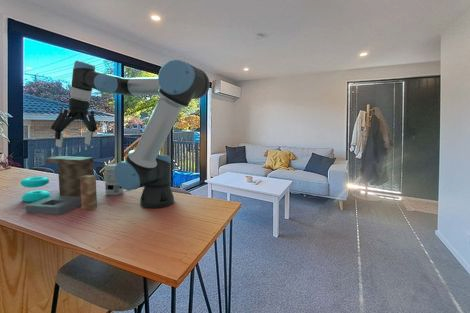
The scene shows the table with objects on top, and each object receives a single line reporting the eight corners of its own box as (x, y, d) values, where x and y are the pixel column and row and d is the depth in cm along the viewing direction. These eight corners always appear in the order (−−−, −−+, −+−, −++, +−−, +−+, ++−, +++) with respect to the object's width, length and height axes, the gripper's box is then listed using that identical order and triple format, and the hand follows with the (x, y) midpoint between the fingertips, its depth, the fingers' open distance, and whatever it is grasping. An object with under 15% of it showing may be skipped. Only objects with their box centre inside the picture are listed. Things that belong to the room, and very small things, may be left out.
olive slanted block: (94, 198, 114) (93, 157, 112) (82, 204, 106) (79, 160, 103) (63, 196, 116) (60, 155, 113) (48, 202, 107) (45, 158, 105)
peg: (97, 206, 104) (95, 175, 102) (90, 210, 100) (89, 177, 98) (88, 206, 104) (86, 174, 102) (81, 209, 100) (80, 176, 98)
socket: (84, 203, 108) (84, 196, 107) (59, 214, 94) (58, 207, 93) (55, 201, 109) (54, 195, 108) (26, 212, 95) (25, 205, 94)
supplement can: (102, 193, 122) (101, 165, 120) (116, 190, 130) (116, 163, 128) (112, 196, 119) (111, 167, 117) (126, 192, 126) (126, 164, 124)
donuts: (52, 175, 115) (42, 180, 106) (54, 195, 116) (44, 202, 107) (27, 176, 112) (15, 181, 103) (29, 196, 114) (17, 203, 104)
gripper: (98, 99, 116) (91, 141, 121) (43, 92, 93) (37, 144, 97) (110, 103, 114) (103, 145, 119) (57, 97, 91) (51, 150, 95)
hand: (73, 145), depth 108 cm, fingers open, 13 cm apart
